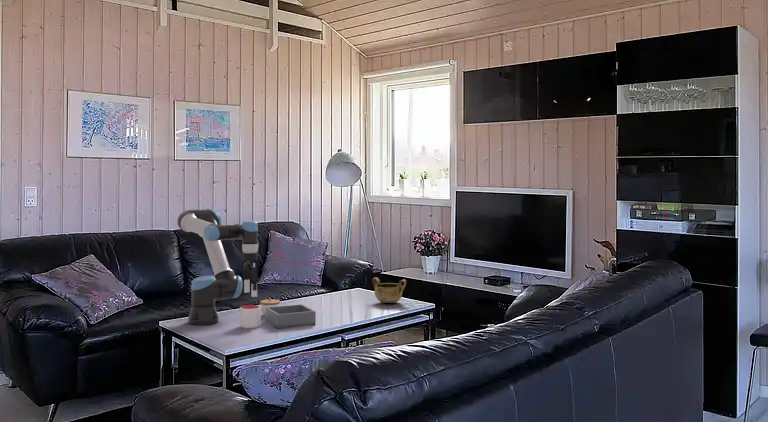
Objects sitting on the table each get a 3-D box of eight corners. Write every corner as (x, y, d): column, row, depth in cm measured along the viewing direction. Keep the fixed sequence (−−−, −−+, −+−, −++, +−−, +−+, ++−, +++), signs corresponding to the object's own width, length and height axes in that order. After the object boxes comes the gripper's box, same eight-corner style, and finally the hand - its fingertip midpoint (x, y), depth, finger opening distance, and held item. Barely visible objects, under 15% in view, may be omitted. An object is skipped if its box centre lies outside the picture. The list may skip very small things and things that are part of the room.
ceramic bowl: (411, 302, 394) (411, 278, 393) (398, 307, 379) (398, 282, 378) (379, 299, 405) (379, 275, 404) (365, 303, 390) (365, 278, 389)
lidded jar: (263, 318, 348) (263, 300, 348) (257, 314, 358) (257, 297, 357) (282, 316, 353) (282, 299, 353) (276, 312, 363) (276, 295, 362)
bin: (277, 328, 324) (277, 314, 324) (265, 320, 342) (265, 307, 342) (315, 324, 334) (315, 311, 333) (302, 317, 351) (302, 304, 351)
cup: (264, 325, 331) (264, 306, 330) (252, 329, 322) (252, 309, 321) (248, 323, 335) (248, 304, 334) (235, 327, 326) (235, 307, 325)
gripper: (264, 254, 317) (265, 297, 318) (250, 249, 339) (251, 290, 340) (249, 255, 314) (249, 299, 314) (236, 250, 336) (236, 291, 337)
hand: (250, 294), depth 327 cm, fingers open, 13 cm apart
